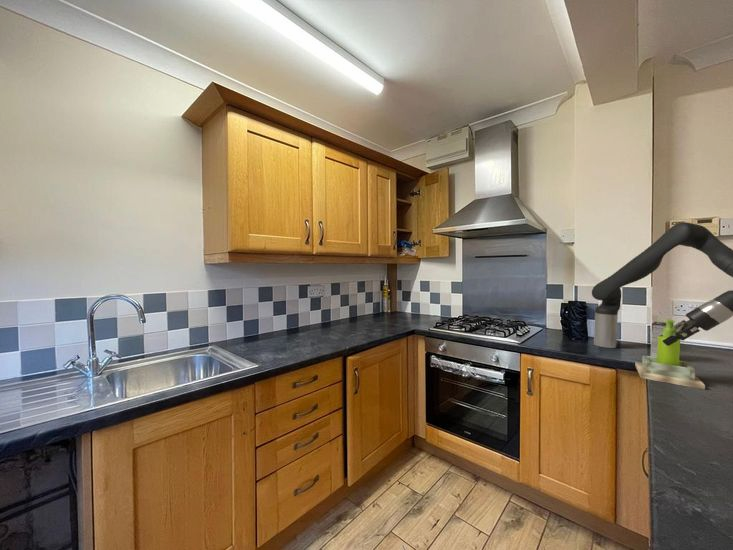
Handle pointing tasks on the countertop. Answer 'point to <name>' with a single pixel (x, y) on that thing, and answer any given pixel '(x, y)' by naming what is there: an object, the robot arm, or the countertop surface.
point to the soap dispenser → (670, 352)
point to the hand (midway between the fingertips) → (662, 341)
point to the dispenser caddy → (668, 372)
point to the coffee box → (656, 336)
